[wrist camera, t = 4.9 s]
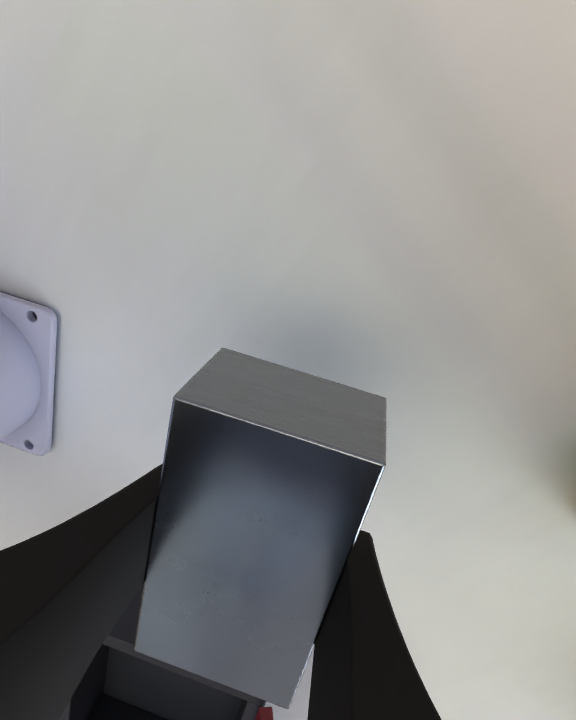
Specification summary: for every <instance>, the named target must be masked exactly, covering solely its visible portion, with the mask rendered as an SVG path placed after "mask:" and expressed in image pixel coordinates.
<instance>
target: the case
mask: <svg viewBox="0 0 576 720" xmlns="http://www.w3.org/2000/svg"><path fill="white" fill-rule="evenodd" d="M143 588H144V583H143V584H142V586H141V587H140V589H139V590H138V592H137V593H136V594H135V596H134V597H133V599H132V600H131V602H130V603H129V605H128V606H127V608H126V609H125V611H124V612H123V614H122V615H121V617H120V618H119V620H118V621H117V623H116V624H115V626H114V627H113V629H112V630H111V632H110V633H109V635H108V636H107V638H106V639H105V641H104V642H103V644H102V645H101V647H100V649H99V650H98V652H97V653H96V655H95V657H94V658H93V660H92V662H91V663H90V665H89V667H88V669H87V671H86V672H85V674H84V676H83V678H82V680H81V681H80V683H79V685H78V687H77V689H76V690H75V692H74V694H73V696H72V698H71V699H70V701H69V703H68V705H67V707H66V709H65V711H64V712H63V714H62V716H61V718H60V720H255V718H256V715H257V712H258V710H259V708H260V707H264V706H265V703H266V701H265V700H262V699H260V698H257V697H254V696H252V695H249V694H246V693H244V692H241V691H239V690H236V689H233V688H231V687H228V686H225V685H223V684H220V683H218V682H215V681H212V680H210V679H207V678H204V677H202V676H199V675H197V674H194V673H191V672H189V671H186V670H183V669H181V668H178V667H176V666H173V665H170V664H168V663H165V662H162V661H160V660H157V659H155V658H152V657H149V656H147V655H144V654H141V653H139V652H136V651H135V650H134V645H135V639H136V632H137V626H138V620H139V613H140V607H141V601H142V594H143Z"/></svg>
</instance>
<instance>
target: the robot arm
mask: <svg viewBox="0 0 576 720" xmlns="http://www.w3.org/2000/svg"><path fill="white" fill-rule="evenodd" d="M33 312H34V313H35V314H36V316H37V319H36V318H35V317H34V316H33ZM56 335H57V317H56V315H55V313H54V312H53V311H52V309H50V308H48V307H45V306H42V305H39V304H36V303H33V302H30V301H27V300H23V299H20V298H17V297H14V296H11V295H8V294H5V293H2V292H0V442H2V443H4V444H7V445H10V446H13V447H16V448H18V449H21V450H24V451H27V452H30V453H32V454H35V455H38V456H44V455H45V454H47V453H48V452H49V451H50V450H51V440H52V419H53V398H54V377H55V356H56ZM31 442H32V443H31ZM162 466H163V464H161V465H159V466H158V467H156V468H154V469H153V470H151V471H150V472H148V473H147V474H145V475H144V476H142V477H141V478H139V479H138V480H136V481H135V482H133V483H131V484H130V485H128V486H127V487H125V488H123V489H122V490H120V491H119V492H117V493H115V494H114V495H112V496H110V497H109V498H107V499H105V500H104V501H102V502H100V503H98V504H97V505H95V506H93V507H92V508H90V509H88V510H86V511H84V512H82V513H80V514H78V515H77V516H75V517H73V518H71V519H69V520H67V521H65V522H64V523H62V524H60V525H58V526H56V527H53V528H51V529H49V530H47V531H45V532H43V533H41V534H39V535H37V536H34V537H32V538H30V539H28V540H25V541H23V542H21V543H18V544H16V545H14V546H11V547H9V548H6V549H3V550H1V551H0V720H60V718H61V716H62V714H63V712H64V711H65V709H66V707H67V705H68V703H69V701H70V699H71V698H72V696H73V694H74V692H75V690H76V689H77V687H78V685H79V683H80V681H81V680H82V678H83V676H84V674H85V672H86V671H87V669H88V667H89V665H90V663H91V662H92V660H93V658H94V657H95V655H96V653H97V652H98V650H99V649H100V647H101V645H102V644H103V642H104V641H105V639H106V638H107V636H108V635H109V633H110V632H111V630H112V629H113V627H114V626H115V624H116V623H117V621H118V620H119V618H120V617H121V615H122V614H123V612H124V611H125V609H126V608H127V606H128V605H129V603H130V602H131V600H132V599H133V597H134V596H135V594H136V593H137V592H138V590H139V589H140V587H141V586H142V584H143V583H144V581H145V575H146V569H147V562H148V556H149V549H150V543H151V537H152V530H153V524H154V518H155V511H156V505H157V498H158V492H159V486H160V479H161V473H162ZM308 720H441V718H440V716H439V714H438V712H437V710H436V708H435V706H434V704H433V703H432V701H431V699H430V697H429V695H428V693H427V690H426V688H425V686H424V684H423V682H422V680H421V678H420V676H419V674H418V671H417V669H416V667H415V665H414V662H413V660H412V658H411V655H410V653H409V651H408V648H407V646H406V643H405V641H404V638H403V636H402V633H401V631H400V628H399V626H398V623H397V620H396V618H395V615H394V612H393V609H392V606H391V603H390V600H389V597H388V594H387V591H386V588H385V585H384V582H383V578H382V575H381V571H380V568H379V564H378V560H377V557H376V553H375V548H374V544H373V539H372V537H371V535H370V533H367V532H364V531H362V530H360V531H359V534H358V537H357V539H356V542H355V544H354V547H353V549H352V552H351V554H350V557H349V559H348V562H347V564H346V566H345V569H344V571H343V574H342V576H341V579H340V581H339V584H338V586H337V589H336V592H335V594H334V597H333V599H332V602H331V604H330V607H329V609H328V612H327V614H326V617H325V619H324V622H323V624H322V627H321V629H320V632H319V634H318V637H317V639H316V642H315V646H314V657H313V667H312V678H311V689H310V699H309V710H308Z"/></svg>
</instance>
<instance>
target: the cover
mask: <svg viewBox="0 0 576 720" xmlns="http://www.w3.org/2000/svg"><path fill="white" fill-rule="evenodd" d="M255 720H273V711H272V707H260V708H259V710H258V712H257V715H256V718H255Z"/></svg>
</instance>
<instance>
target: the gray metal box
mask: <svg viewBox="0 0 576 720" xmlns="http://www.w3.org/2000/svg"><path fill="white" fill-rule="evenodd" d="M385 466H386V398H385V397H382V396H379V395H375V394H372V393H369V392H366V391H362V390H359V389H356V388H353V387H349V386H346V385H343V384H340V383H336V382H333V381H330V380H327V379H323V378H320V377H317V376H314V375H310V374H307V373H304V372H301V371H297V370H294V369H291V368H288V367H284V366H281V365H278V364H275V363H271V362H268V361H265V360H262V359H258V358H255V357H252V356H249V355H245V354H242V353H239V352H236V351H232V350H229V349H226V348H221V349H220V350H219V351H218V352H217V353H216V354H215V355H214V356H213V357H212V358H211V359H210V360H209V361H208V362H207V363H206V364H205V365H204V366H203V367H202V368H201V369H200V370H199V371H198V372H197V373H196V374H195V375H194V376H193V377H192V378H191V379H190V380H189V381H188V382H187V383H186V384H185V385H184V386H183V387H182V388H181V389H180V390H179V391H178V392H177V393H176V394H175V396H174V397H173V403H172V409H171V415H170V422H169V428H168V435H167V441H166V447H165V454H164V460H163V466H162V473H161V479H160V486H159V492H158V498H157V505H156V511H155V518H154V524H153V530H152V537H151V543H150V549H149V556H148V562H147V569H146V575H145V581H144V588H143V594H142V601H141V607H140V613H139V620H138V626H137V632H136V639H135V645H134V650H135V651H136V652H139V653H141V654H144V655H147V656H149V657H152V658H155V659H157V660H160V661H162V662H165V663H168V664H170V665H173V666H176V667H178V668H181V669H183V670H186V671H189V672H191V673H194V674H197V675H199V676H202V677H204V678H207V679H210V680H212V681H215V682H218V683H220V684H223V685H225V686H228V687H231V688H233V689H236V690H239V691H241V692H244V693H246V694H249V695H252V696H254V697H257V698H260V699H262V700H265V701H267V702H270V703H273V704H275V705H278V706H281V707H283V708H286V709H289V707H290V705H291V703H292V700H293V698H294V695H295V693H296V690H297V688H298V685H299V683H300V680H301V678H302V675H303V673H304V670H305V668H306V665H307V663H308V660H309V658H310V655H311V652H312V650H313V647H314V645H315V642H316V639H317V637H318V634H319V632H320V629H321V627H322V624H323V622H324V619H325V617H326V614H327V612H328V609H329V607H330V604H331V602H332V599H333V597H334V594H335V592H336V589H337V586H338V584H339V581H340V579H341V576H342V574H343V571H344V569H345V566H346V564H347V562H348V559H349V557H350V554H351V552H352V549H353V547H354V544H355V542H356V539H357V537H358V534H359V531H360V529H361V526H362V524H363V521H364V519H365V516H366V514H367V511H368V509H369V506H370V504H371V501H372V499H373V496H374V494H375V491H376V489H377V486H378V484H379V481H380V479H381V476H382V474H383V471H384V468H385Z"/></svg>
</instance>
